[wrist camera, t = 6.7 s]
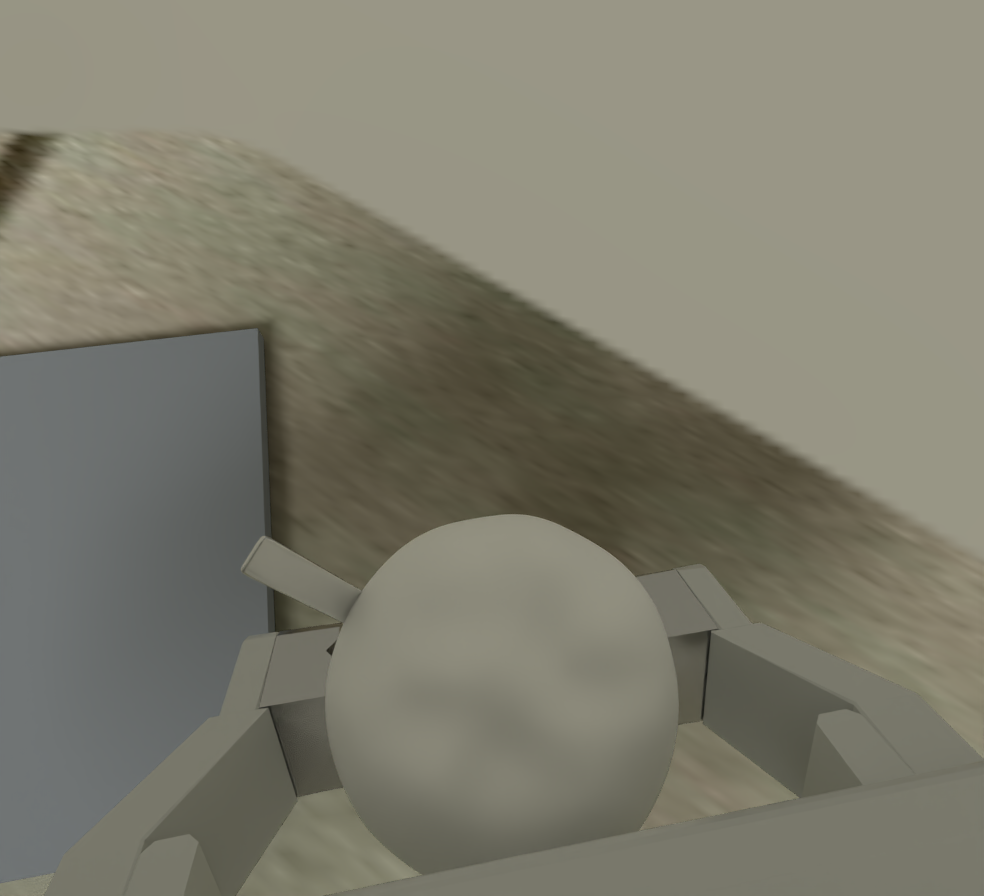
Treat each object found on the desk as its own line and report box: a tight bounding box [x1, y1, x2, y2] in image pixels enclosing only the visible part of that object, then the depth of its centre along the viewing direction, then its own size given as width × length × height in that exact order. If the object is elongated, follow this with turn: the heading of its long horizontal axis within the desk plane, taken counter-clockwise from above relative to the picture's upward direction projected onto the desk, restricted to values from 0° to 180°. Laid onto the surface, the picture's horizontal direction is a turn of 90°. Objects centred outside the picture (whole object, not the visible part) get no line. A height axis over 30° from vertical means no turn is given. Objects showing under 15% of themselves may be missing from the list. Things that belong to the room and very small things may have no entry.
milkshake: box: [241, 514, 679, 875], centre depth 11 cm, size 4×5×10 cm
